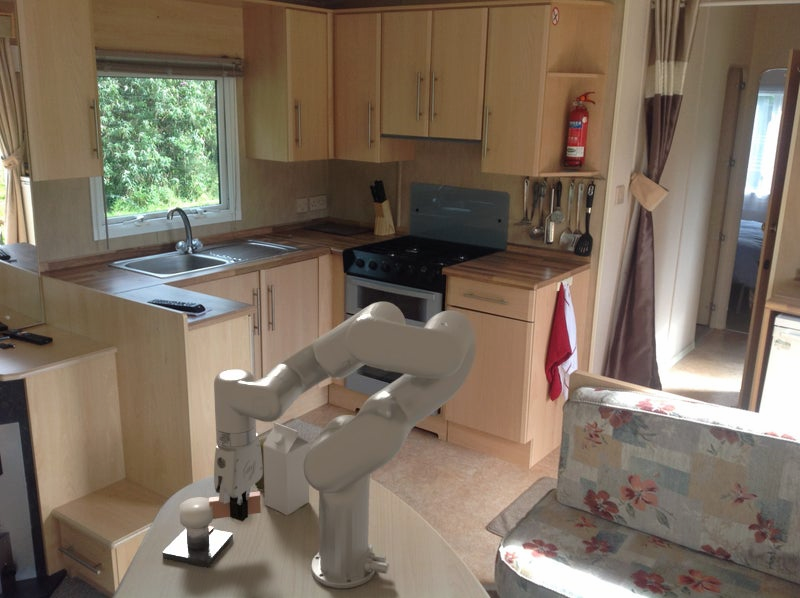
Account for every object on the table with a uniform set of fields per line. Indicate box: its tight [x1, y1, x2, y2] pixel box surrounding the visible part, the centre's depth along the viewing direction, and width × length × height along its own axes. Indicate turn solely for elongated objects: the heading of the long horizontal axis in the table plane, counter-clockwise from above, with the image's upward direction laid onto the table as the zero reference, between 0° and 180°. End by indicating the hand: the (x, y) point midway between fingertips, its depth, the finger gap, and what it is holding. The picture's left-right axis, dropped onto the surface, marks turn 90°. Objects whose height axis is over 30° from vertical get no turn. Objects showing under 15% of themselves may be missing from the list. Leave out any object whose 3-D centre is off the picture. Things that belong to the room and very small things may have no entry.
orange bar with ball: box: [179, 490, 262, 528], centre depth 149 cm, size 16×6×4 cm, turn 106°
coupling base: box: [162, 523, 234, 569], centre depth 149 cm, size 10×10×6 cm
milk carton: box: [263, 421, 310, 516], centre depth 164 cm, size 7×7×19 cm
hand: (239, 517), depth 147 cm, fingers closed
